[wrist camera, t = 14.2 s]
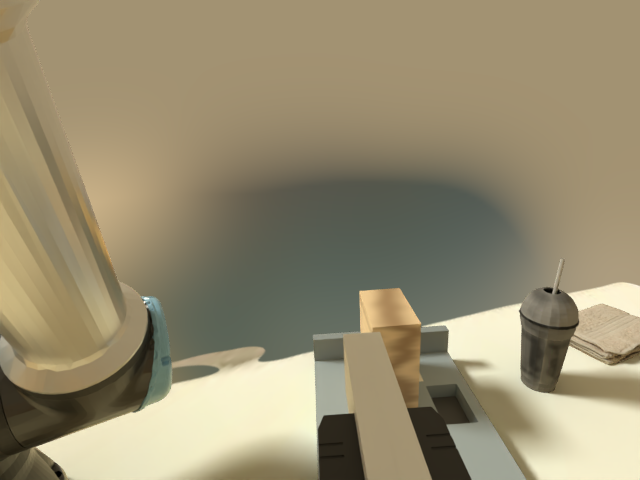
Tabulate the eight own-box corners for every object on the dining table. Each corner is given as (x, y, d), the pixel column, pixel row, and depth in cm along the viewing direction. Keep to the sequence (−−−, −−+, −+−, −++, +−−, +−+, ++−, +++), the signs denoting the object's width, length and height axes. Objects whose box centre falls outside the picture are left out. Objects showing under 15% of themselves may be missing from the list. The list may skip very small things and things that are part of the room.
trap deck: (323, 614, 30) (318, 563, 28) (315, 367, 60) (313, 334, 58) (580, 593, 30) (593, 541, 28) (443, 358, 61) (445, 325, 59)
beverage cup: (500, 375, 56) (514, 257, 50) (531, 361, 59) (548, 247, 52) (544, 406, 50) (566, 275, 43) (577, 388, 52) (603, 263, 46)
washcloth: (540, 335, 66) (543, 320, 65) (598, 310, 73) (601, 297, 72) (612, 372, 56) (617, 355, 55) (672, 339, 63) (677, 324, 62)
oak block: (373, 412, 47) (372, 327, 43) (361, 364, 57) (359, 291, 53) (418, 408, 47) (421, 323, 43) (398, 361, 57) (399, 288, 53)
